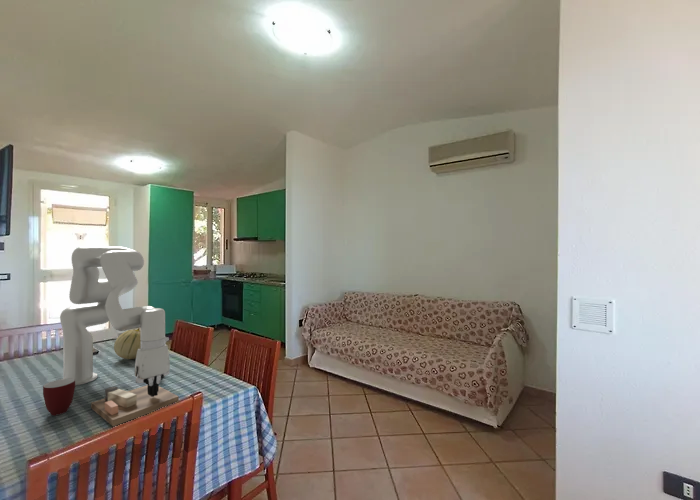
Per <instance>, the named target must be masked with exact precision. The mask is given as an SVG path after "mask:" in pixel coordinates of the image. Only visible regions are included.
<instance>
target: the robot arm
mask: <svg viewBox="0 0 700 500" xmlns="http://www.w3.org/2000/svg"><path fill="white" fill-rule="evenodd" d="M71 265H72V270H73V271H72V272H73V273H72V277H71V284H70V289H69V294H68V295H69V301H70V302H71V303H72V304H75V305H73V306H69V307H66V308H65V309H63V310H62V311H61V313H60V315H59V316H60V317H59V319H60V320H59V321H60V324H61V329H62V337H63V338H62V340H63V342H62V343H63V344H62V346H63V347H62V348H63V350H62V351H63V352H62V354H63V356H62V358H63V361H62V363H63V365H62V367H63V370H62V373H63V376H62V377H63V378H62V379H68V378H72V379H75V387H76V386H80V385H84V384H87V383H90V382H93V381H95V380H96V379H97V378H98V373H96V372H94V354H93V353H94V337H93V335H92V333H91V332H90V331H89V330H88V329H87V328H89V327H94V326H98V325H99V326H100V325H104V324H107V323H110V325H111V326H112V327H113V329H115V330H116V331H119V332H125V331H127V330H136V329H138V328H140V340H141V349H138V351H137V355H136V358H135V364H134V377H135V383H136V384H146V385H148V394H149V395H150V396H151V397H154V396H157V395H158V391H159V384H160V383H161V380H162V379H164V377H166V376H168V375H169V374H170V367H171V366H170V364H171V363H170V361H171V360H170V354H169V348H168V345H167V344H166V343H167V342H169V340H170V338H169V336H168V337H167V336H166V311H165V310H164V308H160V307H154V306H151V305H143V306H136V307H129V308H124V309H123V307H122V306H121V304H120V301H119V298H120V297H121V296H123V295H125V294H127V293H129V292H130V291H132V290H133V289H135V288H136V287H137V285H138V283H139V282H138V281H139V280H138V278H137V276H136V275H135V273H134V272H137V271H140V270H142V269H143V267H144V265H145V260H144V257H143V255H142V254H141V253H140V252H139V251H138V250H135V249H131V248H128V247H124V246H112V245H111V246H104V245H90V246H89V245H86V246H85V245H83V246H78V247H76V248H75V249H74V250H73V252H72V253H71ZM99 268H102V271H103V274H104V275H105V277H106V279H99V278H100V269H99ZM152 377H154V378H153V380H152Z"/></svg>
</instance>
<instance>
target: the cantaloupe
mask: <svg viewBox="0 0 700 500" xmlns="http://www.w3.org/2000/svg"><path fill="white" fill-rule="evenodd" d="M113 344H114V345H113V350H114V354H116V356H117V357H120V358H122V359H125V360H136V355H137V351H138V349H141V340H140V328H136V329H130V330H126V331H123V332H122V333H121V334H119V336H117V337H116V340H115V341H114V343H113Z"/></svg>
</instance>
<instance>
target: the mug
mask: <svg viewBox="0 0 700 500" xmlns="http://www.w3.org/2000/svg"><path fill="white" fill-rule="evenodd" d="M75 390H76V386H75V379H72V378H68V379H63V378H61V379H57V380H53V381H49V382H47V383H45V384H44V385H43V386H42V395H43V400H44V403H45V404H44V405H45V408H46V410H47V411H48V413H49V414H50V415H51V416H60V415H63V414H65V413H67V412H68V410H69V409H70V407H71V405H72V404H73V400H74V395H75Z"/></svg>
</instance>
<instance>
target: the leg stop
mask: <svg viewBox="0 0 700 500" xmlns="http://www.w3.org/2000/svg"><path fill="white" fill-rule="evenodd" d="M105 410H106V411H107V412H108V413H110V414H111V415H113V414H116V413H118V405H117V404H116V403H114V402H113V401H108V402H105Z"/></svg>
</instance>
